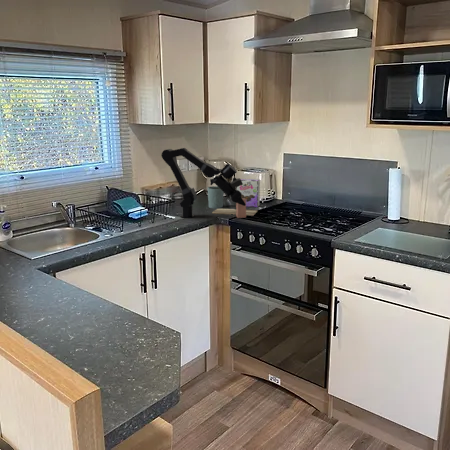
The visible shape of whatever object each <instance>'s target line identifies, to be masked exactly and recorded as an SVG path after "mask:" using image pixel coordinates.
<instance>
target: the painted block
mask: <svg viewBox="0 0 450 450" xmlns="http://www.w3.org/2000/svg"><path fill="white" fill-rule="evenodd" d="M242 199H243V201H244V202H245V204H246V199H245V198H242ZM235 208H236V215H235V217H236V218H238V219H241V218H242V219H243V218H247V215H246V210H247V207H246V205H245V206H243V205H241V204H238V203H235Z"/></svg>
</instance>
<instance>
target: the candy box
mask: <svg viewBox="0 0 450 450" xmlns="http://www.w3.org/2000/svg"><path fill="white" fill-rule="evenodd" d="M240 179H241V181H242V183H243V185H240V186H238V187H236V190H238V191H240V192H241V193H242V195H241V198H245V199H246V208H247V207H250V208H258V207H260V192H261V191H260V190H261V189H260V188H261V187H260V186H261V180H260V179H255V178H254V179H253V178H240Z"/></svg>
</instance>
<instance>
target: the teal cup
mask: <svg viewBox="0 0 450 450" xmlns="http://www.w3.org/2000/svg"><path fill="white" fill-rule="evenodd" d="M224 195H225V193H224V192H223V191H222V190H221V189H220V188H219V187H218V186H217V185H215V186H213V185H212V186H208V187H207V199H208V208H210V209H223V206H224Z"/></svg>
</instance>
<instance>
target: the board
mask: <svg viewBox="0 0 450 450" xmlns="http://www.w3.org/2000/svg"><path fill="white" fill-rule="evenodd" d="M256 213H258V210H256V209H246V216H252V217H253V216H254V215H256ZM211 214H212V215H213V214H214V215H215V214H216V215H231V214H233V216H236V209H234V208H215V210H213V211H212V212H211Z"/></svg>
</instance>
